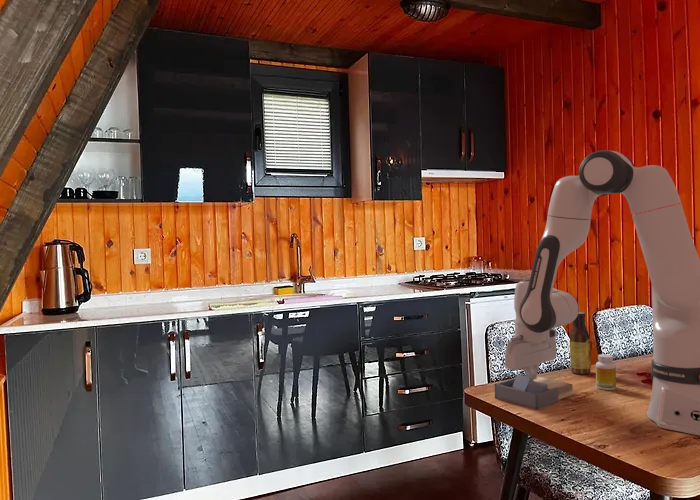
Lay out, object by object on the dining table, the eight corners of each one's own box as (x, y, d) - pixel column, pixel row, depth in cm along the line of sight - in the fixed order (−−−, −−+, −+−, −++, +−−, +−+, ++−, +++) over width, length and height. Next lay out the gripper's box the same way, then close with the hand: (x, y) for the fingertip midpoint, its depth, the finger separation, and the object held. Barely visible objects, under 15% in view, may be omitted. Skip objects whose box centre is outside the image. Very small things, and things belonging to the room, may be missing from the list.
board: (572, 394, 155) (572, 384, 155) (555, 400, 150) (555, 390, 150) (536, 385, 165) (536, 375, 165) (519, 391, 160) (519, 381, 160)
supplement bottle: (617, 391, 157) (616, 358, 157) (597, 389, 159) (596, 357, 158) (614, 385, 162) (614, 353, 162) (595, 384, 164) (594, 353, 163)
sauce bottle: (594, 374, 174) (593, 314, 173) (574, 375, 174) (573, 314, 174) (585, 369, 181) (584, 311, 180) (567, 370, 181) (566, 311, 180)
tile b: (534, 381, 156) (530, 377, 155) (528, 395, 154) (524, 390, 153) (521, 378, 159) (517, 374, 158) (515, 391, 158) (511, 387, 156)
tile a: (547, 384, 149) (542, 386, 148) (547, 400, 149) (542, 402, 148) (533, 380, 153) (527, 382, 151) (533, 396, 153) (528, 398, 151)
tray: (558, 401, 149) (558, 387, 149) (537, 409, 143) (537, 395, 143) (515, 390, 160) (515, 377, 160) (494, 397, 154) (494, 384, 154)
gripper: (517, 340, 149) (518, 389, 150) (559, 330, 161) (560, 375, 162) (499, 336, 154) (500, 384, 155) (541, 327, 166) (542, 371, 167)
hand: (531, 379), depth 158 cm, fingers closed
